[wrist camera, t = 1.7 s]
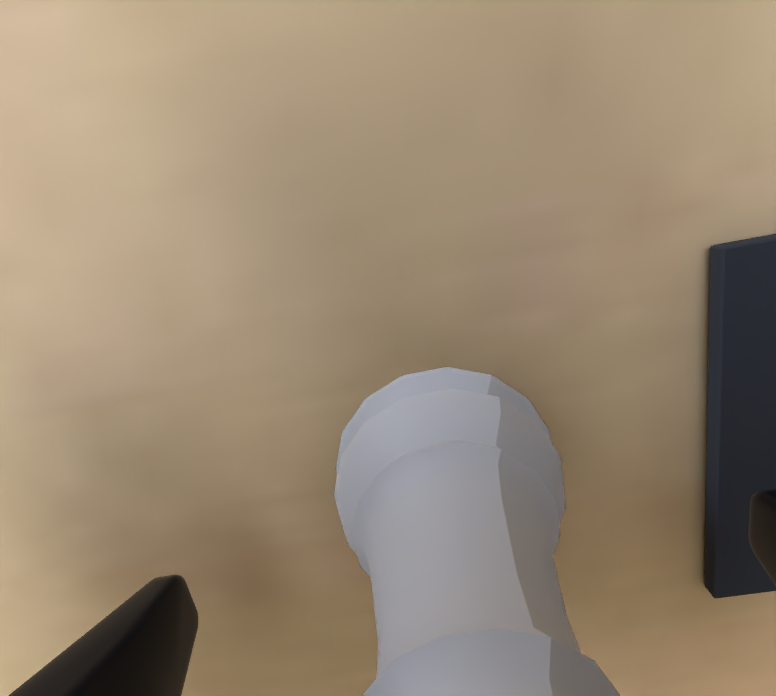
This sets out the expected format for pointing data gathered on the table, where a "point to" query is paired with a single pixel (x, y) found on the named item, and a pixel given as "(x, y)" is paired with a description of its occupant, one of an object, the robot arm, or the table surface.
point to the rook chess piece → (460, 540)
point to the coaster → (739, 409)
